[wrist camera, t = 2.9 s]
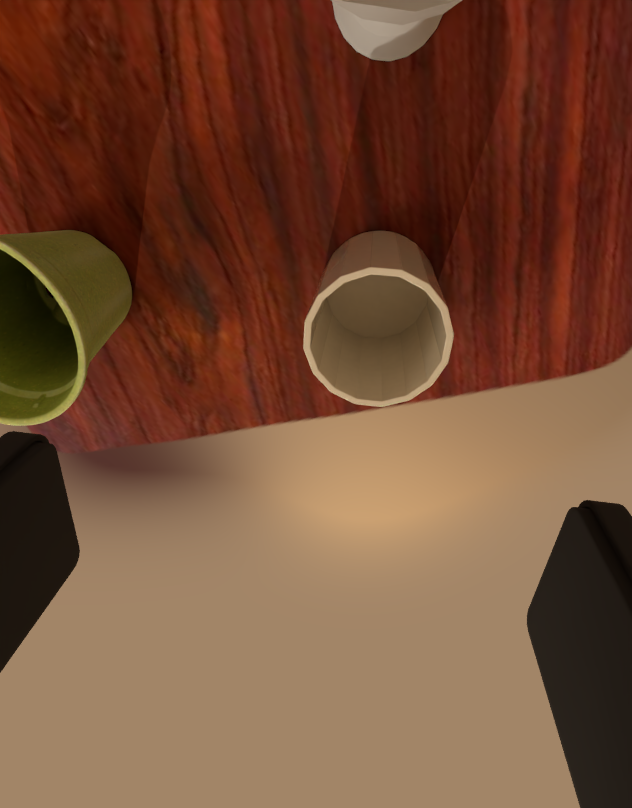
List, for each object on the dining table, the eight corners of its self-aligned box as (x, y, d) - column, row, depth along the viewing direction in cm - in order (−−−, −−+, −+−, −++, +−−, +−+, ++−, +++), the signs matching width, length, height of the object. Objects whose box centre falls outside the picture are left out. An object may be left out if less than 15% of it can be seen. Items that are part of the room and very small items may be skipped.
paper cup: (326, 225, 26) (307, 261, 19) (443, 235, 26) (466, 275, 19) (319, 334, 29) (300, 398, 22) (423, 344, 29) (437, 412, 22)
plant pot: (46, 362, 32) (-54, 433, 25) (-23, 211, 28) (-169, 243, 21) (179, 347, 31) (114, 418, 23) (128, 185, 26) (27, 208, 19)
